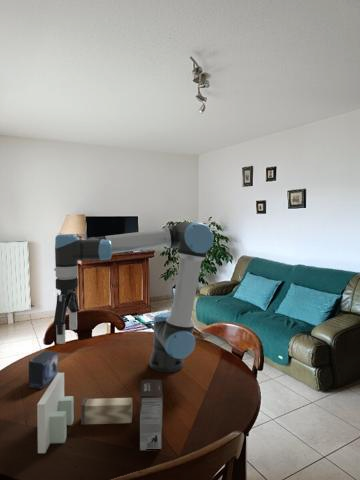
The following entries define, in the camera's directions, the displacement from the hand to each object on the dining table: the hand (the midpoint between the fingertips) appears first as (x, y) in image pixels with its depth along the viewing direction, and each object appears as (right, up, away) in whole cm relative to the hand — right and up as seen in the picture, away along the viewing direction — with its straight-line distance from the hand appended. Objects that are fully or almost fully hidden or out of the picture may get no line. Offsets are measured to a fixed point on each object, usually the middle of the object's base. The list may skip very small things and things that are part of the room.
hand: (67, 335), depth 114 cm
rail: (+17, -24, -12) cm, 32 cm away
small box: (-13, -22, +11) cm, 28 cm away
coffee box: (+32, -25, -21) cm, 45 cm away
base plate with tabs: (+5, -24, -17) cm, 30 cm away
